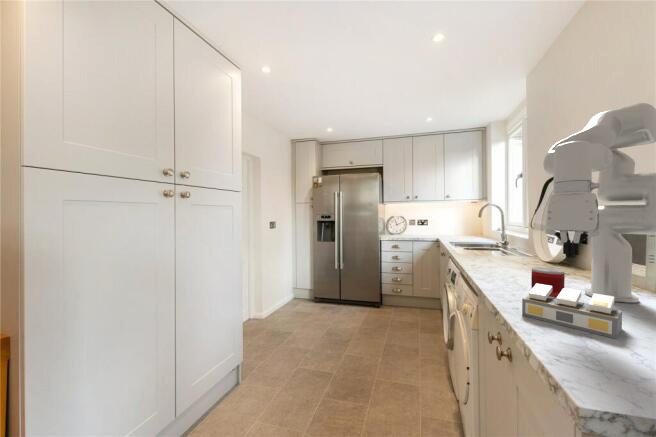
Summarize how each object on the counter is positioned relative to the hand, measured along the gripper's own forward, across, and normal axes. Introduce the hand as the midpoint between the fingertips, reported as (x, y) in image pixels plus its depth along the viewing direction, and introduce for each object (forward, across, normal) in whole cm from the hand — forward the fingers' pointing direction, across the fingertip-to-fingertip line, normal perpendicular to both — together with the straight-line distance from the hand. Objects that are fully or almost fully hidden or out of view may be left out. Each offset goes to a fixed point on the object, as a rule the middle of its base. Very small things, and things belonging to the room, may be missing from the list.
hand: (571, 257), depth 71 cm
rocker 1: (+10, +6, +3) cm, 12 cm away
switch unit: (+17, 0, +3) cm, 17 cm away
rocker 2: (+10, 0, +3) cm, 11 cm away
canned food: (+17, +7, -10) cm, 21 cm away
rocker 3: (+10, -6, +3) cm, 12 cm away
